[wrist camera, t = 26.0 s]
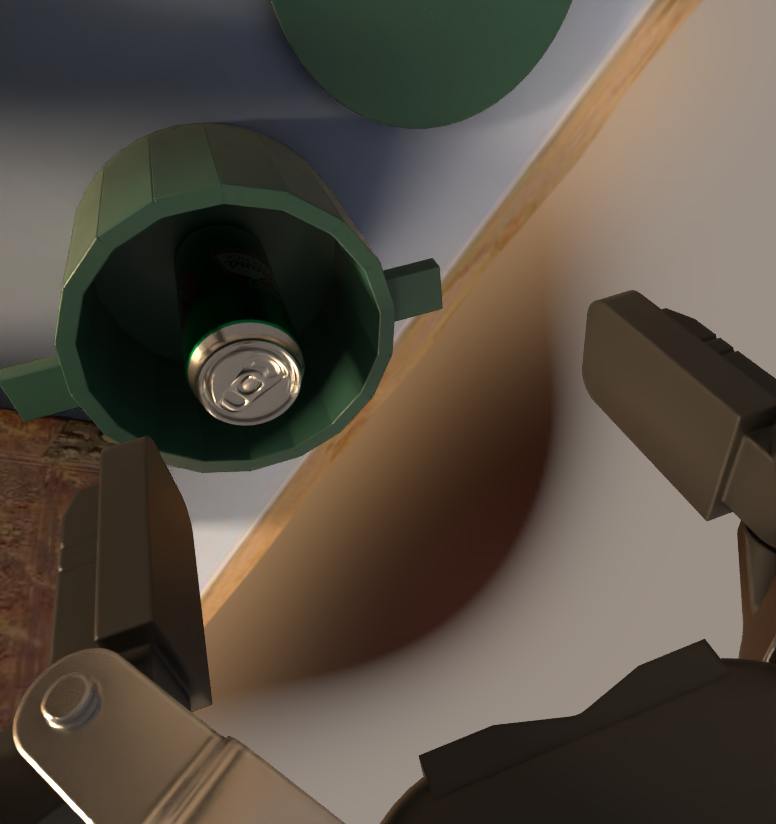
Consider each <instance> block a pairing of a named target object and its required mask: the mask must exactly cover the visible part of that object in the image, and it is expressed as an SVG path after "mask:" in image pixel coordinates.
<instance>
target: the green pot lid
mask: <svg viewBox="0 0 776 824" xmlns="http://www.w3.org/2000/svg"><path fill="white" fill-rule="evenodd" d="M270 1H271V4H272V7H273V9H274V12H275V15H276V17H277V20H278V22H279V25H280V27H281V29H282V31H283V33H284V35H285V37H286V39H287V41H288V43H289V45H290V47H291V48H292V50H293V51H294V53H295V54H296V56H297V57H298V59H299V60H300V62H301V63H302V65H303V66H304V68H305V69H306V70H307V71H308V72H309V73H310V75H311V76H312V77H313V78H314V79H315V80H316V81H317V83H318V84H319V85H320V86H321V87H322V88H323V89H325V90H326V91H327V92H328V93H329V94H330V95H331V96H333V97H334V98H335V99H336V100H337V101H338V102H340V103H341V104H343V105H344V106H346V107H347V108H349V109H351V110H352V111H354V112H355V113H357V114H360V115H362V116H364V117H366V118H368V119H370V120H372V121H376V122H379V123H382V124H386V125H389V126H394V127H401V128H408V129H423V128H433V127H440V126H446V125H449V124H452V123H456V122H459V121H462V120H465V119H467V118H469V117H471V116H474V115H476V114H478V113H480V112H482V111H483V110H485V109H487V108H488V107H490V106H492V105H493V104H495V103H496V102H498V101H499V100H500V99H502V98H503V97H504V96H505V95H507V94H508V93H509V92H510V91H512V90H513V89H514V88H515V87H516V86H517V85H518V84H519V83H520V82H521V81H522V80H523V79H524V78H525V77H526V76H527V75H528V74H529V73H530V71H531V70H532V69H533V68H534V66H535V65H536V64H537V63H538V61H539V60H540V59H541V58H542V56H543V55H544V53H545V52H546V50H547V49H548V47H549V46H550V44H551V43H552V41H553V40H554V38H555V36H556V34H557V32H558V30H559V28H560V26H561V25H562V23H563V21H564V19H565V17H566V15H567V12H568V10H569V7H570V5H571V2H572V0H270Z"/></svg>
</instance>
